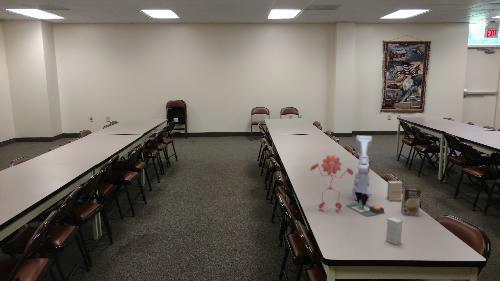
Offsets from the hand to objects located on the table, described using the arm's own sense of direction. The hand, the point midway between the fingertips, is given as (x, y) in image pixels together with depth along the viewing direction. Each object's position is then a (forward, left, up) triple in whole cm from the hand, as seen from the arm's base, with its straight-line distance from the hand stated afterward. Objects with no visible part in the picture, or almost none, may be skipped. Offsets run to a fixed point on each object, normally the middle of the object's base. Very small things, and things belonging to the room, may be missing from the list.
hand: (361, 204), depth 232 cm
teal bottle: (0, 0, -3) cm, 3 cm away
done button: (+8, +5, -2) cm, 9 cm away
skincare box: (+42, -15, -4) cm, 45 cm away
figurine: (-9, -18, -4) cm, 20 cm away
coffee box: (+17, +23, -4) cm, 29 cm away
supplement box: (-5, +32, -4) cm, 33 cm away
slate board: (+1, +2, -4) cm, 4 cm away
